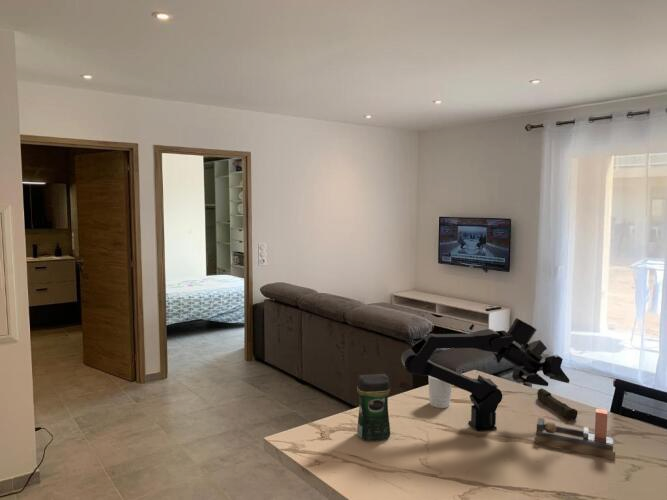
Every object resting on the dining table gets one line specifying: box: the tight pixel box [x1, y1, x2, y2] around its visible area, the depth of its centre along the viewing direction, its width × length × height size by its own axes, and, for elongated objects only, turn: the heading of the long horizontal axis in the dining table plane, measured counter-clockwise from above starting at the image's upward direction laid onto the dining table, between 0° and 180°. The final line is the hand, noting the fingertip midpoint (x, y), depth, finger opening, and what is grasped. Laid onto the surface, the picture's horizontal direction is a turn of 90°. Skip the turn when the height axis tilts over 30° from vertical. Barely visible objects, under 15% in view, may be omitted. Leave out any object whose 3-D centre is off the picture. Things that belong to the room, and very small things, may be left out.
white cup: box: [428, 376, 452, 409], centre depth 170 cm, size 8×8×10 cm
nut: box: [545, 421, 557, 433], centre depth 143 cm, size 3×3×3 cm
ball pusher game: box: [534, 417, 616, 460], centre depth 141 cm, size 20×9×5 cm, turn 62°
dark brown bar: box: [536, 388, 578, 422], centre depth 166 cm, size 19×4×5 cm, turn 8°
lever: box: [583, 408, 614, 445], centre depth 138 cm, size 7×4×9 cm, turn 62°
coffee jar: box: [356, 373, 391, 442], centre depth 145 cm, size 10×8×19 cm
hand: (558, 383), depth 153 cm, fingers open, 9 cm apart
